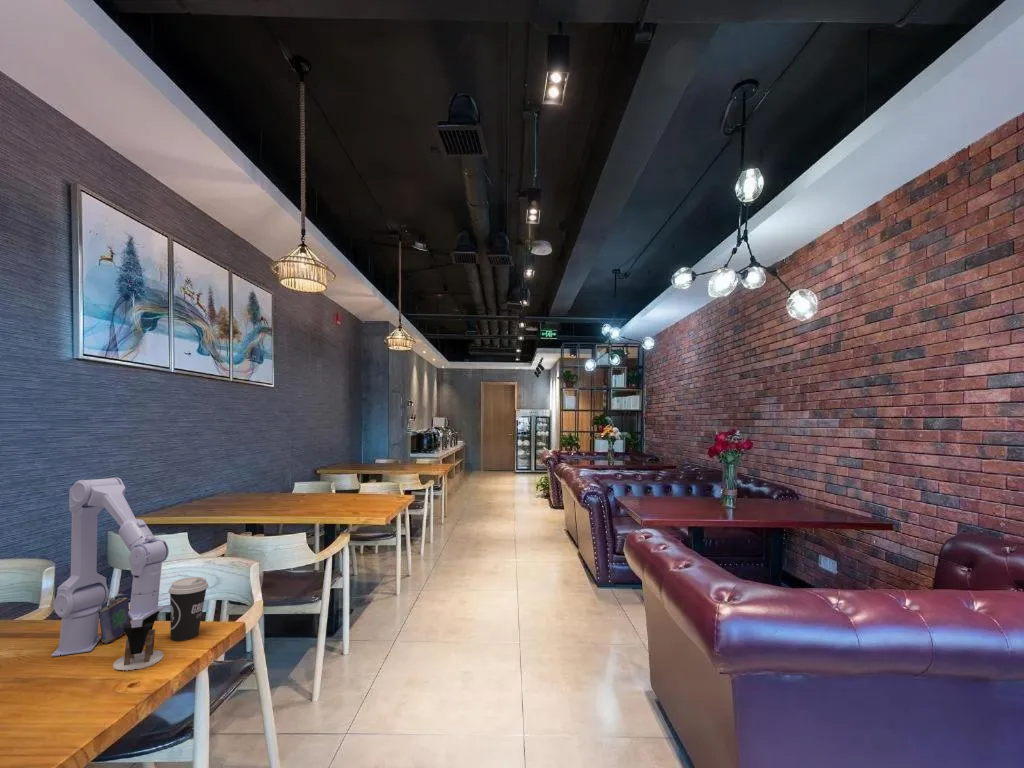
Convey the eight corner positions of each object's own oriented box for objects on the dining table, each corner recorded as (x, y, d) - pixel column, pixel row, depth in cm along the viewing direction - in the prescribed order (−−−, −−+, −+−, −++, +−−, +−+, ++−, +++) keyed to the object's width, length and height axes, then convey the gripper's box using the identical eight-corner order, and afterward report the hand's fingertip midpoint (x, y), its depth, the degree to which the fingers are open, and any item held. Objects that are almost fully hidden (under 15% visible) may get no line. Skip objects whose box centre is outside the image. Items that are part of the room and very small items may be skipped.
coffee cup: (184, 645, 131) (189, 587, 132) (154, 641, 133) (160, 584, 134) (212, 631, 140) (217, 577, 142) (184, 627, 142) (189, 574, 144)
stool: (128, 657, 122) (131, 632, 123) (153, 653, 125) (155, 628, 125) (123, 665, 118) (126, 639, 118) (148, 661, 120) (151, 636, 121)
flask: (109, 643, 130) (103, 603, 131) (98, 645, 130) (92, 605, 130) (134, 627, 140) (129, 590, 140) (124, 629, 139) (119, 591, 140)
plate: (119, 656, 124) (119, 654, 124) (166, 649, 128) (166, 647, 128) (107, 674, 115) (107, 671, 115) (159, 666, 119) (159, 663, 119)
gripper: (159, 597, 118) (153, 656, 117) (169, 581, 131) (164, 633, 130) (123, 601, 115) (116, 661, 114) (137, 584, 128) (132, 638, 127)
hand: (140, 647), depth 122 cm, fingers open, 7 cm apart
